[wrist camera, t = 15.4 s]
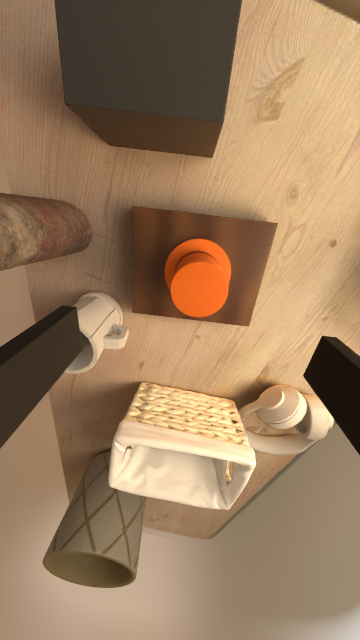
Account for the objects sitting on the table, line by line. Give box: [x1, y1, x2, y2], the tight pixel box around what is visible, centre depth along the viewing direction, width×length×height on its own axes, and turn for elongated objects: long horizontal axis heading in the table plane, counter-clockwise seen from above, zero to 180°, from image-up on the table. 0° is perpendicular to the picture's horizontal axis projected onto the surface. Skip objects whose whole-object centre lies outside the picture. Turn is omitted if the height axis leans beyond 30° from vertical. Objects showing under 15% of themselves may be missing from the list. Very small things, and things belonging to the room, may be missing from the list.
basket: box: [108, 382, 256, 510], centre depth 42 cm, size 24×16×15 cm
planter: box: [43, 450, 146, 588], centre depth 51 cm, size 19×19×20 cm
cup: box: [64, 292, 129, 374], centre depth 33 cm, size 10×9×12 cm
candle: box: [0, 193, 92, 271], centre depth 24 cm, size 8×7×20 cm
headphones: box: [238, 384, 334, 455], centre depth 44 cm, size 18×8×20 cm
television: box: [55, 0, 242, 158], centre depth 21 cm, size 14×10×11 cm
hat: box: [165, 239, 231, 317], centre depth 28 cm, size 10×10×9 cm
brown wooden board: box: [132, 206, 278, 326], centre depth 33 cm, size 20×16×3 cm
